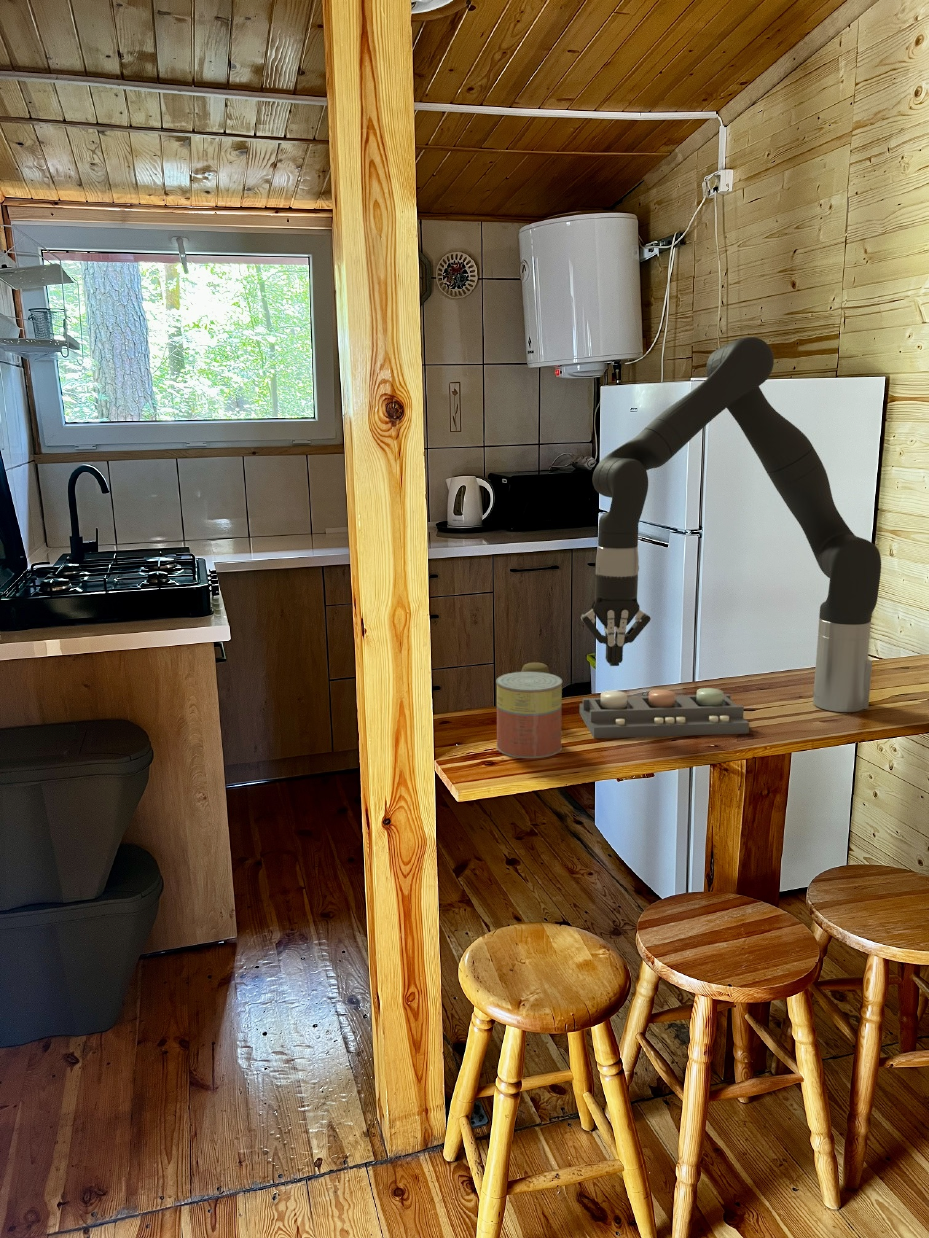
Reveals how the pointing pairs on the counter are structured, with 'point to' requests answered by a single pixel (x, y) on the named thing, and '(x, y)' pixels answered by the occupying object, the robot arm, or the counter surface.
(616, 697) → the button one
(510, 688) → the canned food
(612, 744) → the counter surface
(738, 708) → the console
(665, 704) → the button three
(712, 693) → the button two
